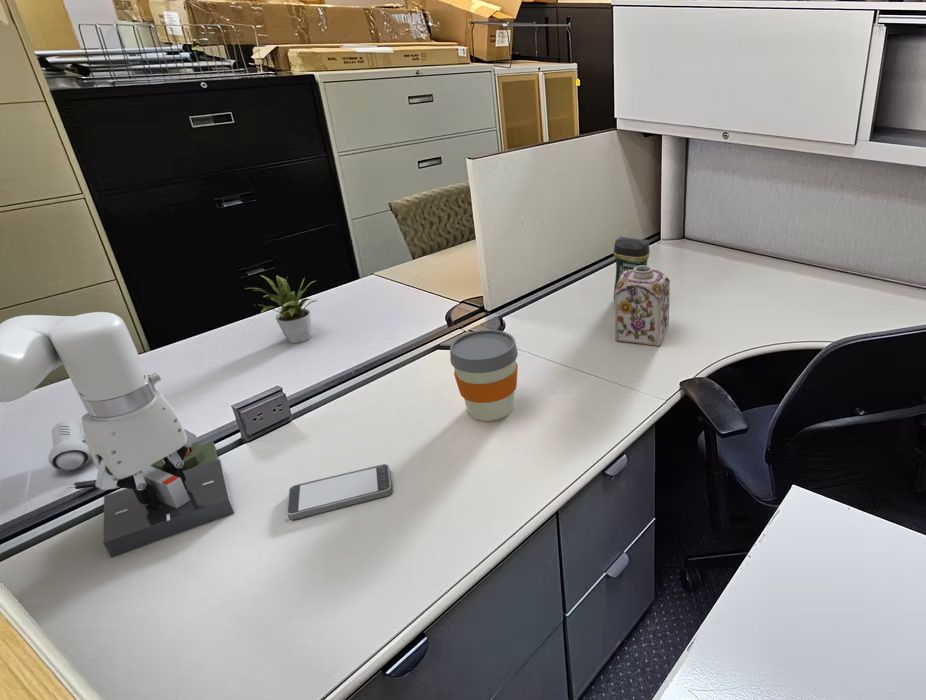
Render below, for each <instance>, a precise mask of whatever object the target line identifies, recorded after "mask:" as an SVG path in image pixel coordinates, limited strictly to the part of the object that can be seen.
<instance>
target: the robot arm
mask: <svg viewBox="0 0 926 700" xmlns="http://www.w3.org/2000/svg"><path fill="white" fill-rule="evenodd" d="M132 338H133V337H132V336H131V334H130V331H129V329H128V327H127V324H126V323H125V321H124V320H123V318H121V317H120V316H119V315H117V314H115V313H112V312H108V311H96V312H95V311H93V312H86V313H82V314H77V315H66V316H64V315H47V314H46V315H44V314H26V315H25V314H24V315H18V316H14V317H11V318H8V319H6V320H4V321H3V322H1V323H0V404H1V403H8V402H12V401H17V400H19V399H21V398H23V397H25V396H27V395H28V394H30V393H31V392H32V391H34V390H35V389H36V388H37V387H38V386H39V385H40V384H41V383H42V381H44V380H45V378H46V377H47V376H48V375H49V374H50V373H51V372H52V371H54V370H56V369H58V368H59V367H61V366H63V367H64V369H65V371H66V373H67V375H68V377H69V379H70V381H71V383H72V385H73V387H74V389H75V392H76V393H77V395H78V397H79V399H80V401H81V403H82V404H83V407H84V409H85V410H86V413H85V414H83V415H82V416H81V424H82V425H81V426H82V431H83V434H84V435H83V436H84V438H85V439H86V442H85V443H86V445H87V446H88V448H89V451H90V453H91V458H92V461H93V463H94V465H96V466H95V467H96V468H97V475H96V479H95V480H96V484H95V486H96V487H95V488H97V489H99V490H101V491H107V490H115V489H119V488H120V489H127V488H128V489H133V491H134V493H135V495H136V497H137V499H138V501H139V502H140V503H141V504H143V505H146V504H148V505H150V506H152V507H155V508H156V507H158V506H159V505H160V502H159V499H158V497H157V495H156V493H155V491H154V489H153V487H152V486H151V485H149V484H147V483H146V482H145V478H144V474H143V471H142V470H143V469H144V468H146V467H148V466H150V465H152V464H154V463H155V462H157V461H159V460H161V459H162V461H163V462H164V463H165V464H164V465H163V466H162V470H163V471H164V472H166V473H169V474H171V475H174V476H177V477H179V478H181V480H182V483H183V485H184V487H185V489H187V486H186V484H185V482H184V481H186V477H185V475H184V473H183V471H182V468H181V467H182V466H183V464H184V463H183V459H184V457H185V455H186V453H187V451H188V447H190V446H191V445H192V443H193V442H194V443H195V441H196V440H197V438H198V436H197V435H196V434H195V433H193V432H190V431H189V430H187V429H186V428H184V426H183V424H182V423H181V421H180V419H179V417H178V415H177V414H176V412H175V410H174V408H173V407H172V406H171V404H170V403H169V402H168V401H167V399H166V398H165V397H164V396H163V394H162V393H161V392H160V391H158V390H156V387H155V385H156V384H157V383H159V382H161V381H162V378H161V376H160V375H159V374H158V373H156V372H154V373H153V374H148V373H147V371H146V368H145V366H144V364H143V362H142V359H141V356H140V354H139V352H138V350H137V348H136V345H135V343H134V341H133V339H132ZM113 476H115V478H113Z"/></svg>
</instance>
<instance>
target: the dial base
mask: <svg viewBox="0 0 926 700" xmlns="http://www.w3.org/2000/svg"><path fill="white" fill-rule="evenodd" d="M218 459H219V460H216V461H213V462H210V463H207V464H204V465H200V466H197V467H194V468H191V469H188V470H185V471H183V473H184V475H185V477H186V481H184V482H185V484H186V486H187V489H186V492H187V494H188V496H189V498H190V501H188V502H187V503H185V504H184V505H182V506H180V507H179V508H175V507H172V506H170V505H168V504H165V503H163V502H160V501H159V502H160V505H159V506H158V507H156V508H155V507H152V506H150V505H148V504H146V505H143V504H141V503H140V502H139V501H138V499H137V497H136V495H135V493H134V491H133V489H128V488H123V489H121V490H118V491H115V492H112V493H109V494H105V495H104V496H103V532H102V533H103V534H102V544H103V546H104V547H105V549H106V551H107V553H108V555H109V557H110V558H114V557H118V556H120V555H123V554H126V553H128V552H131V551H133V550H137V549H139V548H142V547H145V546H148V545H150V544H153V543H155V542H158V541H161V540H165V539H166V538H171V537H172V536H175V535H179V534H181V533H184V532H186V531H189V530H192V529H194V528H195V529H196V528H197V527H200V526H203V525H205V524H208V523H211V522H215V521H217V520H220V519H222V518H226V517H228V516H231V515H234V514H235V510H234V505H233V501H232V496H231V492H230V488H229V483H228V478H227V474H226V471H225V469H224V466H223V463H222V461H221V459H220V458H218Z"/></svg>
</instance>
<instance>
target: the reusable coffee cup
mask: <svg viewBox="0 0 926 700" xmlns="http://www.w3.org/2000/svg"><path fill="white" fill-rule="evenodd" d="M518 352H519V351H518V347H517V344H516V340H515V338H514V336H513V335H512V334H510V333H508V332H506V331H502V330H498V329H480V330H474V331H470V332H467V333H464V334H462V335H459V336H458V337H457V338H455V339H454V340H453V341H452V342H451V344H450V347H449V353H450V355H449V357H450V359H449V360H450V364H451V365H452V367H453V369H454V371H453V372H454V373H453V376H454V378H455V381H456V385H457V388H458V391H459V394H460V396H461V397H462V398H463V400H464V402H465V405H466V409H467V412H468V415H469V416H470V417H471V418H472V419H474V420H476V421H480V422H493V421H498V420H501V419H503V418H505V417H507V416H509V415H510V414H511V413H512V412H513V410H514V408H515V391H516V389H517V387H518V369H519V368H518V367H519V365H518V363H517V358H518V355H519V354H518Z"/></svg>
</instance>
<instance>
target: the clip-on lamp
mask: <svg viewBox="0 0 926 700" xmlns="http://www.w3.org/2000/svg"><path fill="white" fill-rule="evenodd" d="M51 438H52V448H50V451H49V453H48V456H47V458H48V463H49V464H50V465H51V467H52V468H53V469H56V470H59V471H73V470H77V469H80V468H82V467H84V466H85V465H86V464H88V462H89V461H90V459H91V458H92V456H91V453H90V451H89V448H88V445H87V442H86V439H85V436H84V435H83V433H82V429H81V425H80V424H79V423H77V422H76V421H73V420H64V421H59V422H58V423H56V424H55V425H54V426H52V429H51ZM94 465H95V464H94ZM95 467H96V465H95ZM113 478H116V477H115V476H114V475H113ZM96 480H97V479H91V480H82V481H77V482H74V483H73V485H68V486H67V489H73V488H74V489H75V490H83V489H90V488H97V487H96V486H95V484H96Z"/></svg>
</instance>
